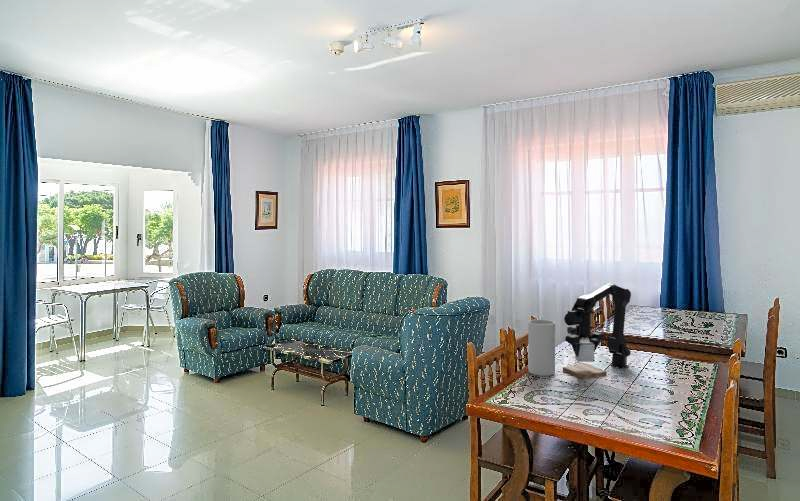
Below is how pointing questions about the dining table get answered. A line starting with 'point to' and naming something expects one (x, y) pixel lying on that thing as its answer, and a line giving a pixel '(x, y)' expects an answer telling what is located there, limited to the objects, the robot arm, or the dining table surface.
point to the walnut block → (584, 371)
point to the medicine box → (586, 352)
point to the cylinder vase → (541, 347)
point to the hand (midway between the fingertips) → (584, 355)
